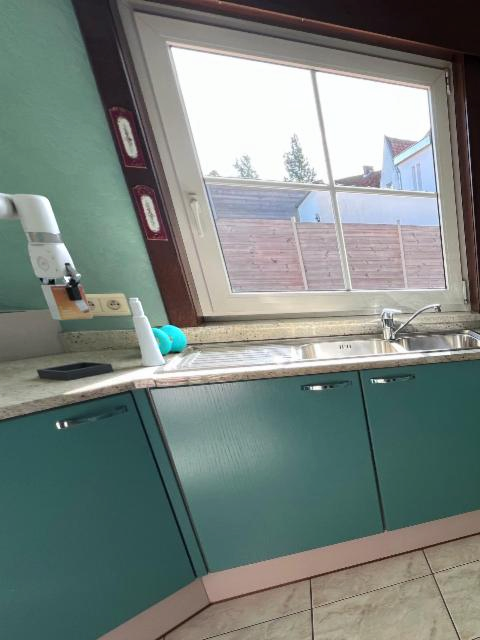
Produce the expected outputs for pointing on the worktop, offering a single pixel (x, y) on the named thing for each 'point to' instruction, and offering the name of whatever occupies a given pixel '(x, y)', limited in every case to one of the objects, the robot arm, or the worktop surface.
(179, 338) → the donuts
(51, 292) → the small box
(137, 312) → the cosmetic bottle
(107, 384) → the worktop surface
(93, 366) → the black tray
